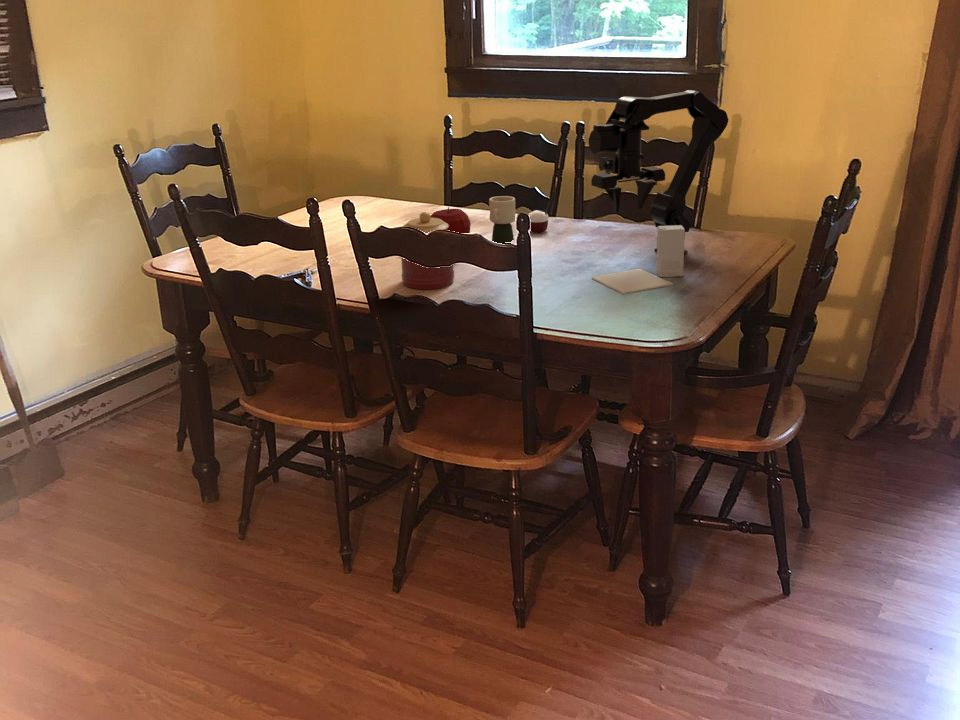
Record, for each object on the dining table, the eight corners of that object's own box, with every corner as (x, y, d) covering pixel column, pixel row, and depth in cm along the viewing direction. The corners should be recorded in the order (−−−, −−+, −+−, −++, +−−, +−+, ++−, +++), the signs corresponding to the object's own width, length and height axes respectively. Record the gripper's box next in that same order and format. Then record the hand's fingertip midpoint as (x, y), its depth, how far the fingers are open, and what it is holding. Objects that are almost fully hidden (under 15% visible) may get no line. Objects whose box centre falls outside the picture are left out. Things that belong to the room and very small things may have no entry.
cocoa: (520, 234, 272) (517, 193, 267) (529, 228, 277) (526, 188, 272) (550, 236, 268) (547, 194, 263) (558, 230, 273) (556, 189, 268)
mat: (639, 270, 235) (639, 268, 235) (672, 284, 223) (672, 283, 223) (591, 278, 230) (591, 277, 230) (623, 294, 218) (623, 292, 218)
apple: (454, 246, 260) (452, 199, 255) (480, 255, 252) (479, 206, 247) (419, 255, 253) (416, 206, 248) (444, 264, 245) (442, 214, 240)
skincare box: (680, 271, 233) (682, 224, 228) (683, 277, 229) (686, 228, 224) (655, 272, 233) (657, 224, 228) (658, 277, 229) (660, 229, 224)
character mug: (498, 238, 267) (497, 193, 262) (522, 240, 264) (521, 195, 259) (483, 248, 257) (482, 202, 252) (507, 251, 255) (506, 204, 250)
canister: (465, 281, 231) (462, 211, 224) (426, 294, 223) (422, 221, 216) (430, 271, 240) (426, 203, 233) (391, 283, 231) (386, 213, 225)
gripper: (642, 141, 243) (640, 200, 249) (580, 148, 236) (579, 209, 242) (667, 147, 233) (665, 208, 239) (603, 155, 226) (602, 218, 232)
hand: (627, 211), depth 238 cm, fingers open, 7 cm apart
